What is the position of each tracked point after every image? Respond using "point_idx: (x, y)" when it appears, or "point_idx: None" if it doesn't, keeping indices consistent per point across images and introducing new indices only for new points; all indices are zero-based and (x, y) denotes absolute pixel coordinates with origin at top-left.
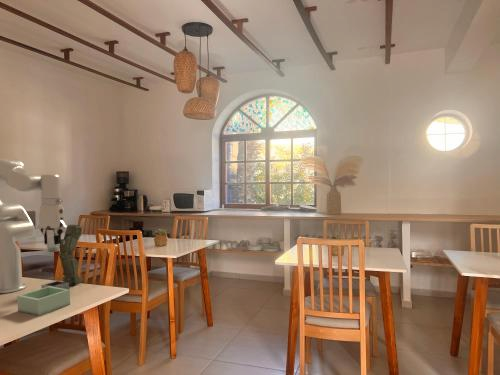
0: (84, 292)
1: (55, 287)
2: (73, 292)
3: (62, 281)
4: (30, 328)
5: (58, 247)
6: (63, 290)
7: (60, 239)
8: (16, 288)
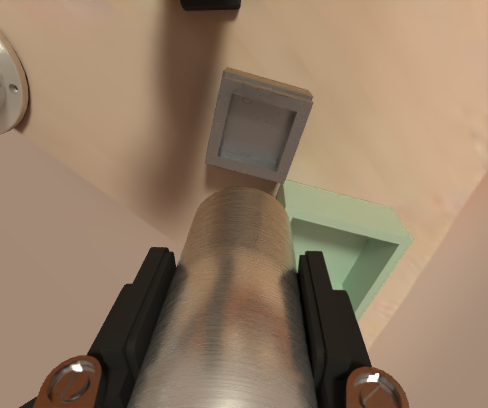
0: (376, 67)
1: (328, 218)
2: (318, 74)
3: (265, 92)
4: (375, 336)
5: (289, 232)
6: (384, 239)
7: (350, 315)
8: (9, 87)
